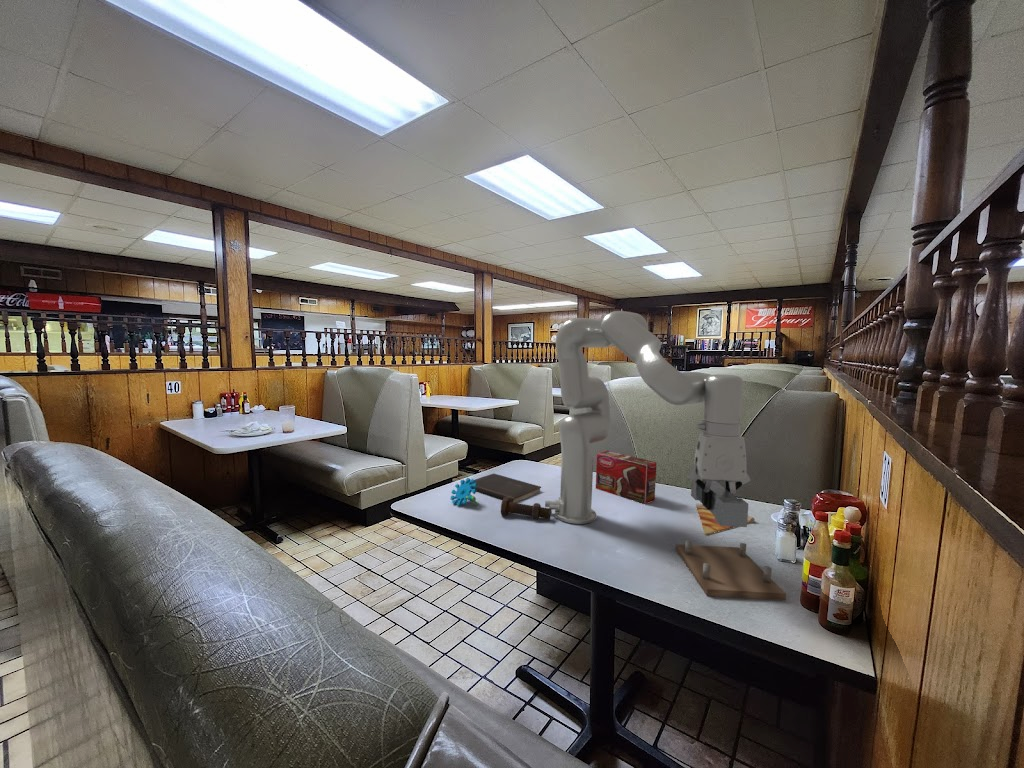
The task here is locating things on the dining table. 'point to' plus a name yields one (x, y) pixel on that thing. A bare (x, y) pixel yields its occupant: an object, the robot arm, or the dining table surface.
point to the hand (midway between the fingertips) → (716, 507)
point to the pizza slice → (712, 520)
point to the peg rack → (729, 572)
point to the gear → (464, 492)
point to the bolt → (525, 509)
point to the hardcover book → (504, 487)
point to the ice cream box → (626, 476)
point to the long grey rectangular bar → (724, 505)
